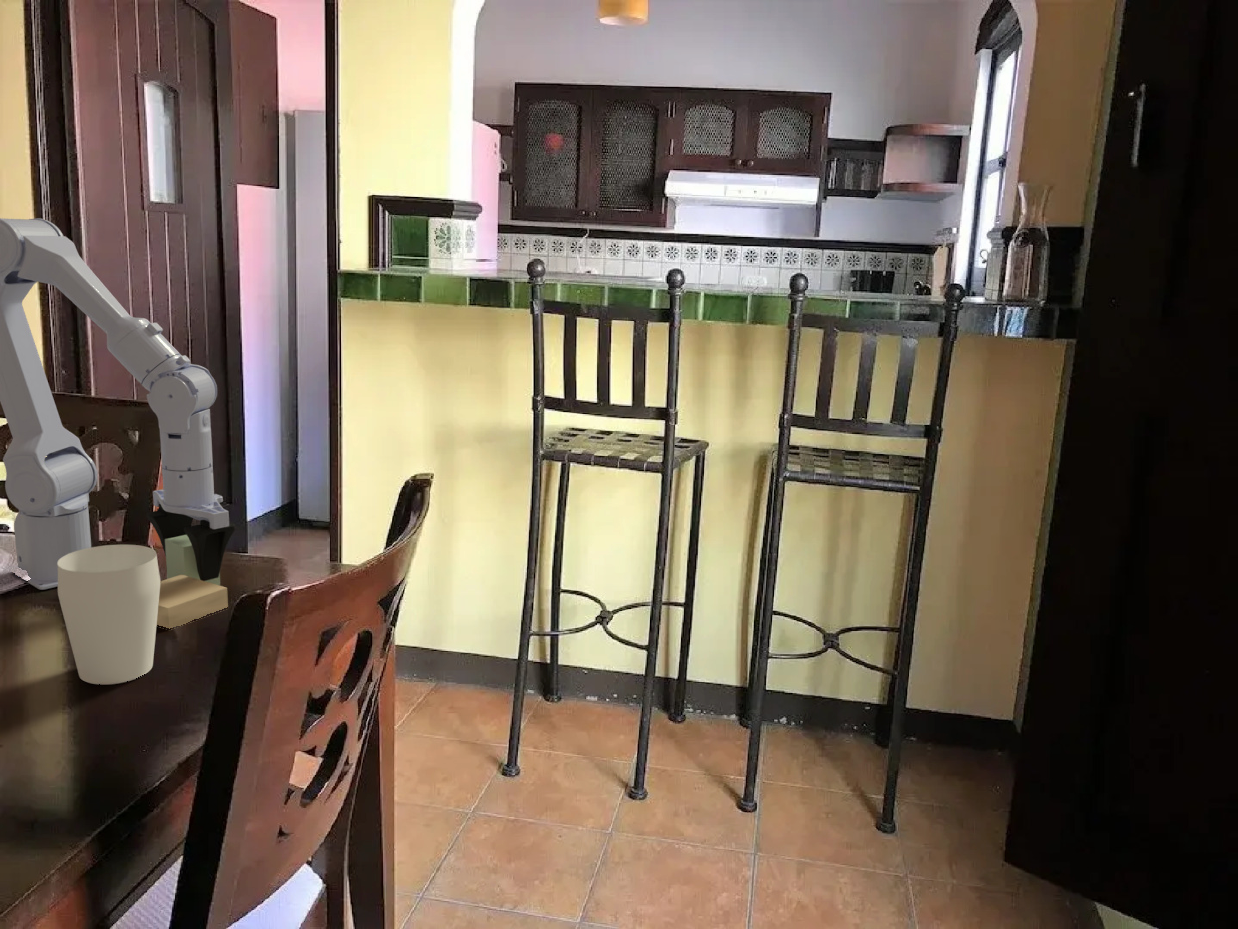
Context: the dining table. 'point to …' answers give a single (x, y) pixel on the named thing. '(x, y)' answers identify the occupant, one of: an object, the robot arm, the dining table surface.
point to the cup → (110, 610)
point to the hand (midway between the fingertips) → (193, 571)
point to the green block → (182, 559)
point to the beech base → (188, 600)
